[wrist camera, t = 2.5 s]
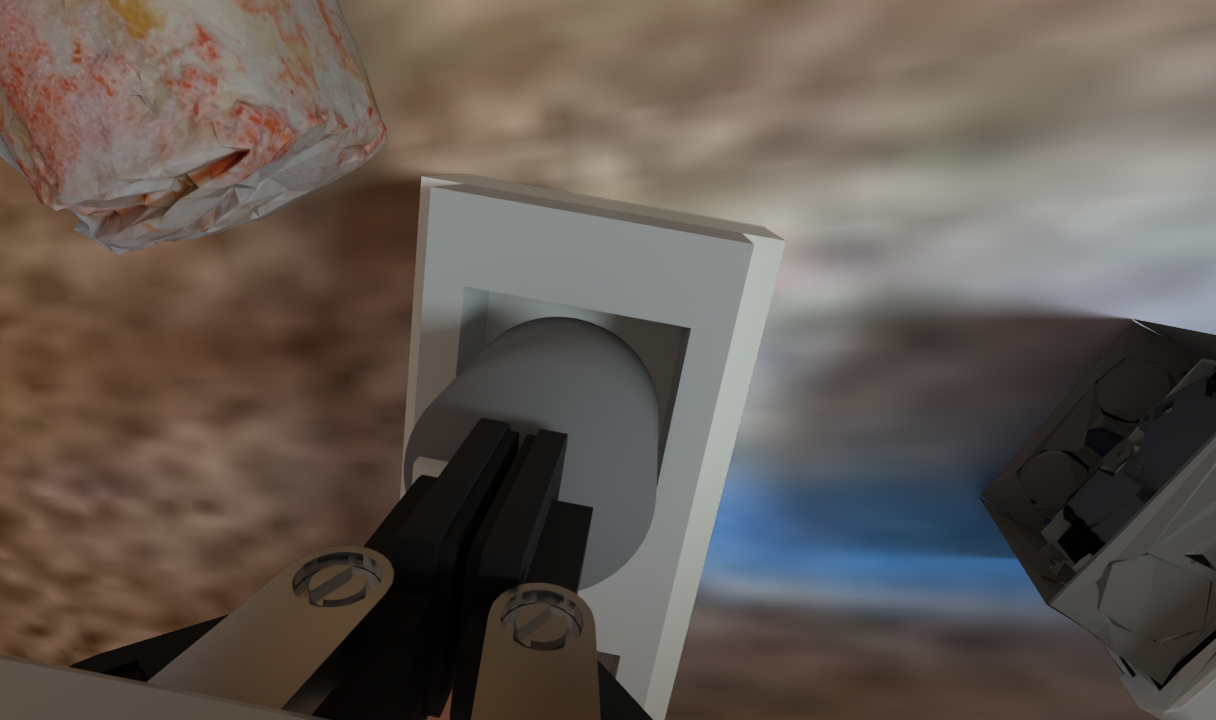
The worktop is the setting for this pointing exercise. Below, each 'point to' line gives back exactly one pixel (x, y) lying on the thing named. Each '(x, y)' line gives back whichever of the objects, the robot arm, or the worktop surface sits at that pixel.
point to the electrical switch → (1130, 515)
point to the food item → (180, 110)
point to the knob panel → (638, 314)
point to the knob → (562, 424)
